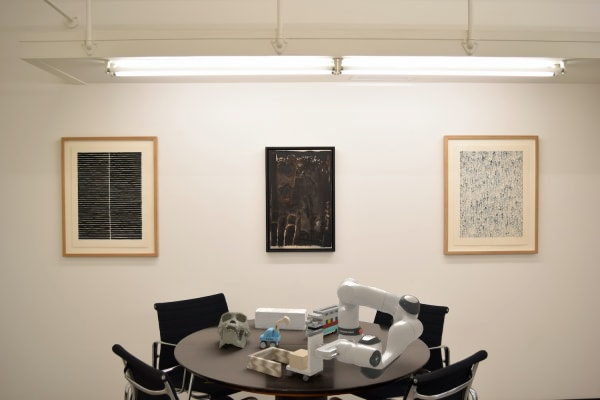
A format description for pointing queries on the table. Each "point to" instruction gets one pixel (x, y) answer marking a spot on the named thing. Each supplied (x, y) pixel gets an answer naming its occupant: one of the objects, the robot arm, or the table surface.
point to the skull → (234, 329)
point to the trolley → (307, 357)
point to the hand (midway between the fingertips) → (318, 345)
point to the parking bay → (268, 360)
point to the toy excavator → (273, 334)
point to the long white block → (272, 315)
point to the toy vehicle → (323, 320)
